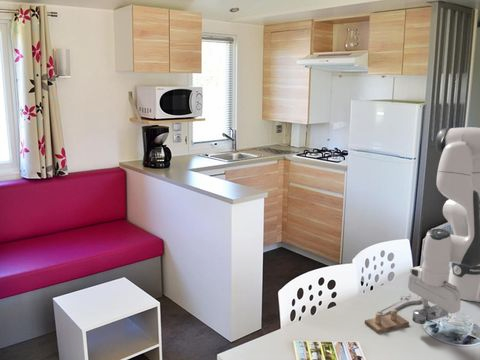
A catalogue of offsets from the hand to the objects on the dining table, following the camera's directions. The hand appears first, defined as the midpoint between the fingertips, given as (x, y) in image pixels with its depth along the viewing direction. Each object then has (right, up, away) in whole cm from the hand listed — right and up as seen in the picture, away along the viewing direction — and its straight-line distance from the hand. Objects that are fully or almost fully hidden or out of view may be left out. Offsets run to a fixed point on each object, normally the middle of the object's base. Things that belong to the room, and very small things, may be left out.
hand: (431, 313), depth 163 cm
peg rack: (-15, -5, +4) cm, 16 cm away
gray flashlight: (-1, -2, 0) cm, 2 cm away
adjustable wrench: (-6, -3, +18) cm, 19 cm away
